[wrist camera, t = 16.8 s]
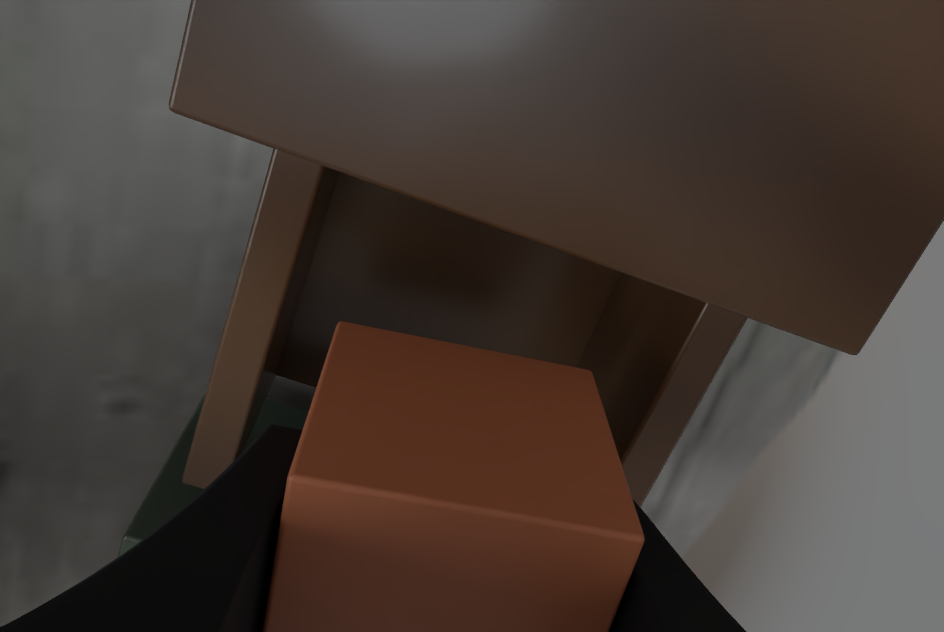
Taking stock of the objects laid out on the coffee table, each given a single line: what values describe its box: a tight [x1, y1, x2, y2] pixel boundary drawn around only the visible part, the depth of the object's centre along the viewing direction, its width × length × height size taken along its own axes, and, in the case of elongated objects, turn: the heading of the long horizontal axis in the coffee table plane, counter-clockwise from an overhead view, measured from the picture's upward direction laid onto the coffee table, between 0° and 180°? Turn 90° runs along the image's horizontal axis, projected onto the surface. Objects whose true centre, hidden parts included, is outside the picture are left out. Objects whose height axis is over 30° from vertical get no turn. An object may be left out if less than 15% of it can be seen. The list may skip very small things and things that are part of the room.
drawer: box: [118, 149, 747, 557], centre depth 17 cm, size 18×9×6 cm, turn 159°
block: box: [262, 321, 644, 632], centre depth 11 cm, size 4×4×4 cm
